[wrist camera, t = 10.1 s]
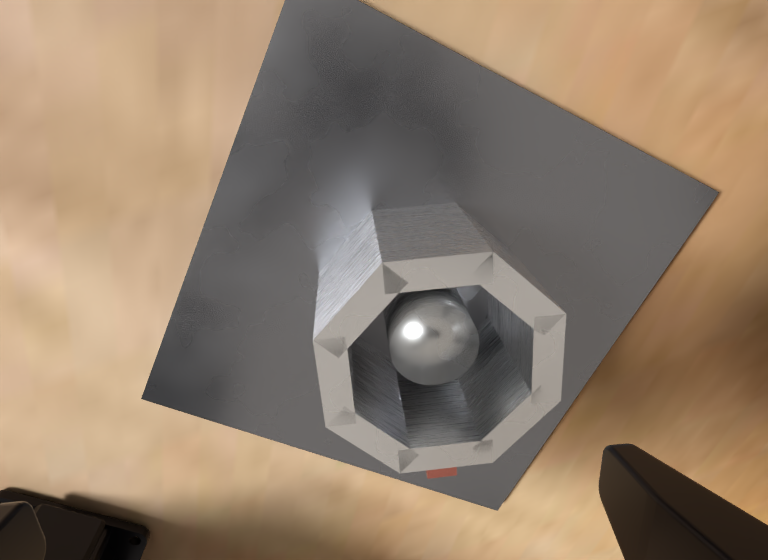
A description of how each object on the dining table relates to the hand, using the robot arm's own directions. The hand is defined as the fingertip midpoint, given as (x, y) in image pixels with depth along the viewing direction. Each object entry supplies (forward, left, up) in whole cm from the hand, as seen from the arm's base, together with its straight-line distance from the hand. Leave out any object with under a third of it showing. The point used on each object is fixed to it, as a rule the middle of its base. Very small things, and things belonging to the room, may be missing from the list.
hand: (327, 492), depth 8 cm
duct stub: (0, -4, -12) cm, 12 cm away
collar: (0, -4, -11) cm, 12 cm away
